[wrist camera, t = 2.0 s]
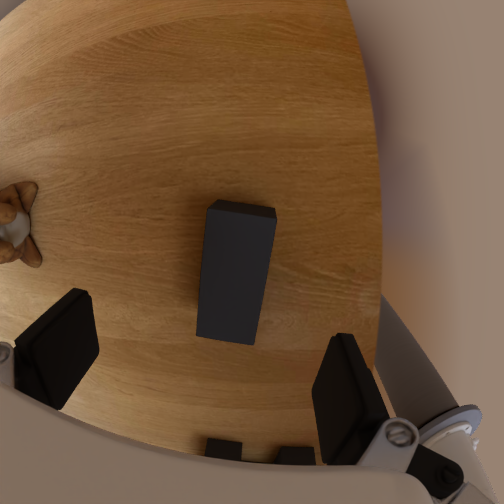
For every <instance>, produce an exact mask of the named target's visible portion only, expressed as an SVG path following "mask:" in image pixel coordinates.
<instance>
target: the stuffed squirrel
mask: <svg viewBox="0 0 504 504" xmlns="http://www.w3.org/2000/svg"><path fill="white" fill-rule="evenodd" d="M36 193H37V186H36V184H35V183H32V182H22V183H17V184H12V185H10V186H8V187H7V188H5V189H4V190H2V191H0V264H3V263H9V262H13V261H15V260H17V259H19V258H20V259H21V260H22V261H23V262H24V263H25V264H27V265H28V266H30V267H34V268H39V267H40V265H41V261H42V259H41V257H40V255H39V252H38V251H37V249H36V247H35V245H34V244H33V242H32V240H31V239H30V237H29V236H28V235H29V232H30V220H29V216H28V214H27V213H28V211H29V210H30V208H31V206H32V203H33V201H34V198H35V195H36Z"/></svg>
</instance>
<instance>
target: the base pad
mask: <svg viewBox="0 0 504 504" xmlns="http://www.w3.org/2000/svg"><path fill="white" fill-rule="evenodd" d="M241 454H242V443H239V442H231V441H224V440H218V439H212V438H208V440H207V445H206V450H205V455H204V456H205V457H210V458H217V459H223V460H231V461H239V462H248V461H241ZM249 463H258V462H249ZM260 464H271V463H260ZM273 464H275V465H299V466H316V461H315V453H314V447H281V448H280V451H279V453H278V455H277V457H276V459H275V461H274V463H273Z"/></svg>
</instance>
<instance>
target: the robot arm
mask: <svg viewBox="0 0 504 504" xmlns="http://www.w3.org/2000/svg"><path fill="white" fill-rule="evenodd" d="M14 342H15V345H16V346H15V347H14V348H13V347H12V346H11V345H10V344H9V343H7V342H0V504H499V502H498V499H497V497H496V495H495V493H494V491H493V488H492V486H491V484H490V481H489V479H488V477H487V475H486V473H485V471H484V469H483V466H482V464H481V462H480V460H479V459H478V456H477V454H476V452H475V450H476V444H478V443H479V438H474V439H471V437H470V435H469V434H470V433H471V430H472V427H471V425H470V423H469V422H467V421H462V422H458V423H455V424H453V425H450V426H448V427H446V428H444V429H443V430H441V431H439V432H438V433H436V434H435V435H433V436H432V437H430V438H429V439H428V440H426V441H425V442H424V443H423V444H422V445H421V444H419V438H420V436H419V432H418V430H417V428H416V427H415V426H414V425H413V424H412V423H411V422H410V421H408V420H406V419H403V418H390V417H389V414H388V412H387V409H386V407H385V404H384V402H383V399H382V397H381V394H380V392H379V389H378V387H377V384H376V382H375V380H374V377H373V375H372V373H371V371H370V369H368V368H367V365H366V363H365V361H364V358H363V356H362V354H361V352H360V349H359V347H358V345H357V342H356V340H355V338H354V336H353V334H346V333H337V334H336V336H332V337H331V339H330V342H329V344H328V347H327V350H326V353H325V356H324V358H323V361H322V364H321V366H320V369H319V371H318V374H317V377H316V379H315V382H314V384H313V387H312V399H313V405H314V411H315V417H316V423H317V430H318V436H319V443H320V449H321V456H322V462H323V463H324V464H326V463H327V465H325V466H299V465H275V464H260V463H249V462H239V461H231V460H223V459H217V458H210V457H205V456H199V455H194V454H189V453H184V452H179V451H174V450H170V449H166V448H162V447H158V446H154V445H150V444H147V443H143V442H140V441H136V440H133V439H130V438H127V437H123V436H120V435H117V434H115V433H112V432H109V431H106V430H103V429H100V428H98V427H95V426H93V425H90V424H87V423H85V422H83V421H80V420H78V419H75V418H73V417H71V416H68V415H66V414H64V413H62V412H60V411H58V410H61V409H62V408H63V406H64V405H65V403H66V402H67V400H68V399H69V397H70V396H71V394H72V393H73V391H74V390H75V388H76V387H77V385H78V384H79V382H80V381H81V379H82V378H83V377H84V375H85V374H86V372H87V371H88V369H89V368H90V366H91V365H92V364H93V362H94V361H95V359H96V358H97V356H98V354H99V343H98V338H97V332H96V326H95V320H94V313H93V306H92V298H91V296H90V295H89V294H88V292H87V291H86V290H82V289H78V288H73V289H72V290H70V291H69V292H68V293H67V294H66V295H64V296H63V297H62V298H61V299H60V300H59V301H57V302H56V303H55V304H54V305H53V306H52V307H50V308H49V309H48V310H47V311H46V312H45V313H44V314H43V315H41V316H40V317H39V318H38V319H37V320H36V321H35V322H34V323H33V324H31V325H30V326H29V327H28V328H27V329H26V330H25V331H24V332H23V333H22V334H21V335H20V336H19V337H17V338H16V339H15V340H14Z"/></svg>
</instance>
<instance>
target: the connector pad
mask: <svg viewBox="0 0 504 504" xmlns="http://www.w3.org/2000/svg"><path fill="white" fill-rule="evenodd" d="M276 223H277V217H276V212H275V208H271V207H264V206H258V205H252V204H245V203H238V202H231V201H224V200H217V201H216V202H214V203H213V204H212V205H211V206H210V207H209V208H208V209H207V216H206V225H205V234H204V244H203V254H202V265H201V276H200V288H199V301H198V314H197V330H196V336H199V337H204V338H210V339H215V340H221V341H227V342H233V343H240V344H247V345H254V342H255V337H256V332H257V326H258V321H259V316H260V311H261V305H262V300H263V295H264V289H265V284H266V279H267V273H268V268H269V262H270V257H271V251H272V246H273V240H274V234H275V229H276Z"/></svg>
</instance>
